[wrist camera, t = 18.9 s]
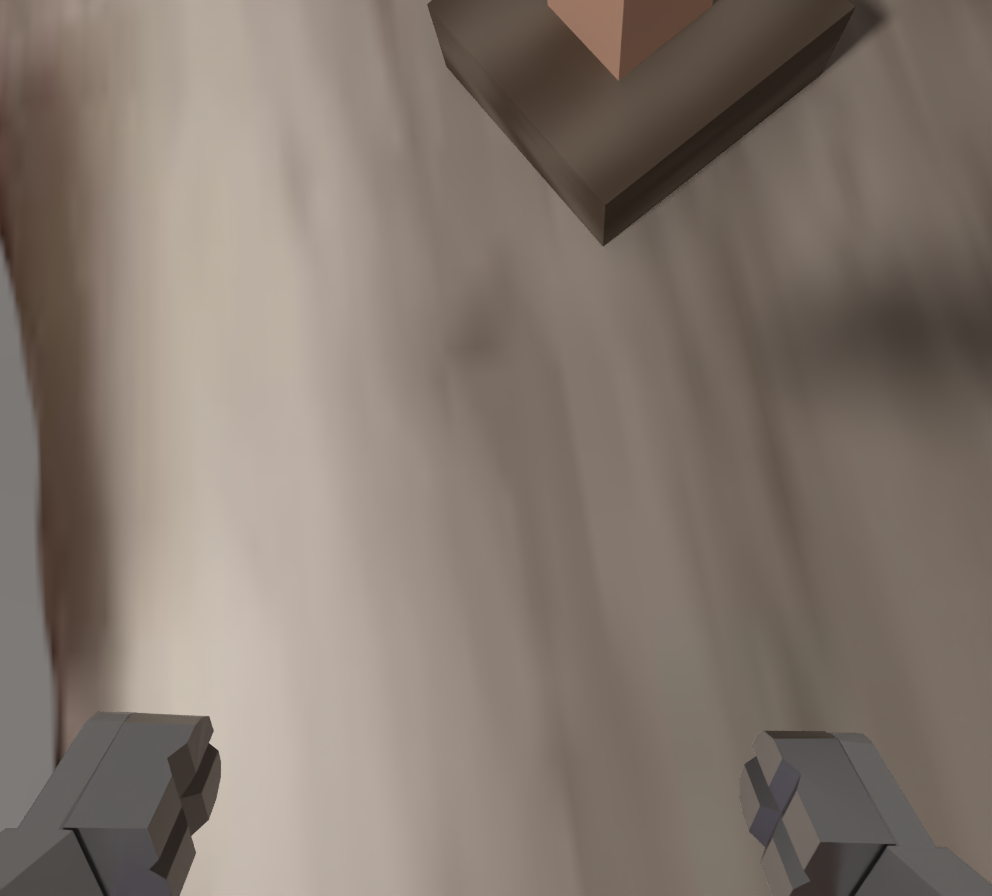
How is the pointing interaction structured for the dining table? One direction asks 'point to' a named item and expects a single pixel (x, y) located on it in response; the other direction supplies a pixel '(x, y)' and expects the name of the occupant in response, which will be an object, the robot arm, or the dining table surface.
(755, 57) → the walnut plinth
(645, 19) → the terracotta block
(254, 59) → the dining table surface
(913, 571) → the dining table surface
